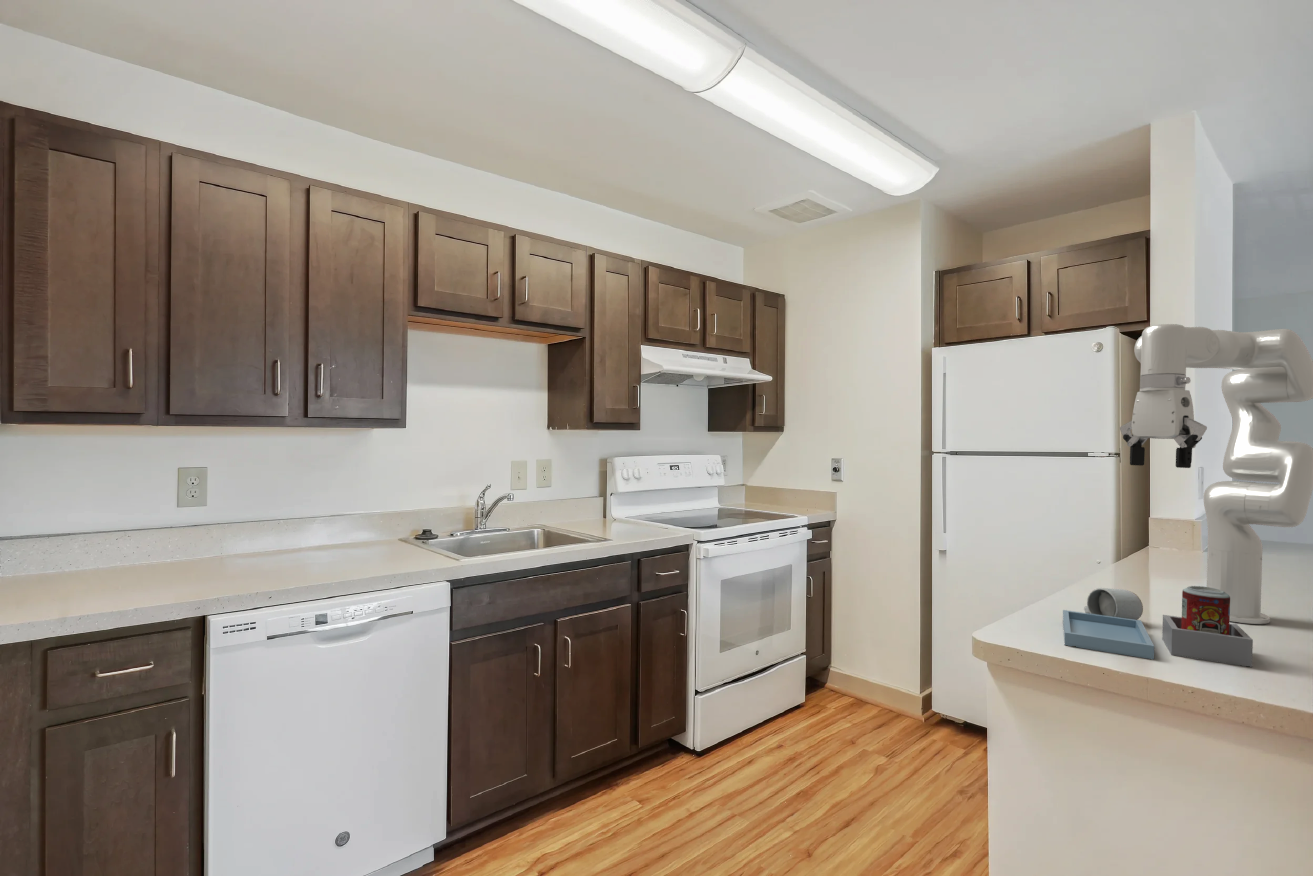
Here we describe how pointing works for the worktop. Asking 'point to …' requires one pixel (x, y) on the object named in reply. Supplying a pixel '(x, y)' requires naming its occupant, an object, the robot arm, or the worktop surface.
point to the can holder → (1207, 643)
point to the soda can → (1205, 610)
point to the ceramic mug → (1114, 603)
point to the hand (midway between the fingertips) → (1159, 466)
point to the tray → (1107, 634)
